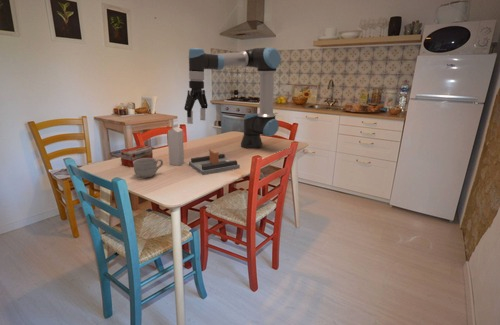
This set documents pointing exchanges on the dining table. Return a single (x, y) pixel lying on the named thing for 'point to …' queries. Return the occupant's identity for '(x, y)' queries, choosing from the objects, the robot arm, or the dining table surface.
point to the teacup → (146, 167)
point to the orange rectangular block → (214, 156)
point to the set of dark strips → (213, 166)
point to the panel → (198, 167)
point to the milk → (175, 146)
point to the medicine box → (135, 154)
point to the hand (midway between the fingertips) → (196, 121)
